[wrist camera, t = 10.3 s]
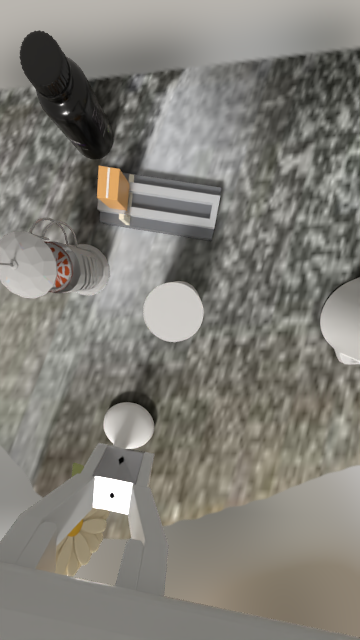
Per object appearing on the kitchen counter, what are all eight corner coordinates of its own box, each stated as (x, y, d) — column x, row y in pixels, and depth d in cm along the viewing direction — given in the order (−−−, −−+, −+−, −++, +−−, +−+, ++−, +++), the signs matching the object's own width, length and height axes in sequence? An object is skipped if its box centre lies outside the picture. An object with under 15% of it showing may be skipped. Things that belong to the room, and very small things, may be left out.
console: (220, 191, 33) (224, 178, 28) (211, 240, 34) (213, 235, 30) (106, 174, 33) (93, 158, 29) (103, 223, 35) (90, 215, 30)
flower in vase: (162, 434, 44) (126, 627, 20) (118, 444, 45) (33, 636, 21) (142, 385, 42) (72, 537, 17) (96, 398, 43) (-28, 555, 19)
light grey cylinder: (161, 277, 36) (147, 277, 25) (203, 285, 36) (209, 288, 24) (155, 318, 38) (139, 335, 26) (195, 325, 38) (196, 346, 26)
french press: (58, 288, 38) (-179, 306, 14) (64, 228, 35) (-215, 117, 11) (105, 300, 38) (-49, 341, 14) (115, 241, 35) (-54, 158, 11)
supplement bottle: (79, 163, 33) (17, 100, 21) (72, 116, 32) (1, 21, 20) (117, 159, 33) (75, 92, 21) (111, 111, 31) (63, 10, 19)
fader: (131, 187, 32) (119, 168, 26) (129, 213, 33) (117, 200, 27) (114, 184, 32) (98, 165, 26) (112, 210, 33) (96, 197, 27)
